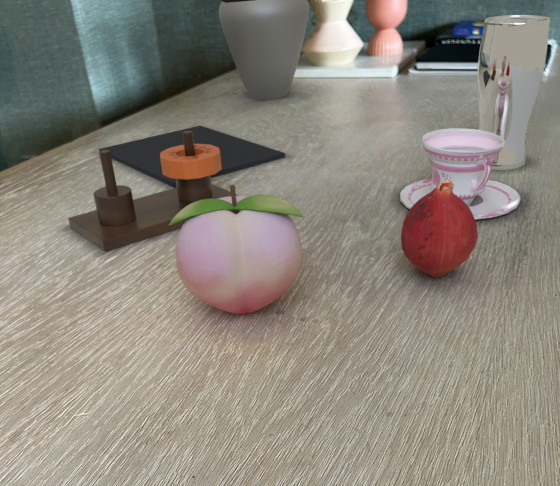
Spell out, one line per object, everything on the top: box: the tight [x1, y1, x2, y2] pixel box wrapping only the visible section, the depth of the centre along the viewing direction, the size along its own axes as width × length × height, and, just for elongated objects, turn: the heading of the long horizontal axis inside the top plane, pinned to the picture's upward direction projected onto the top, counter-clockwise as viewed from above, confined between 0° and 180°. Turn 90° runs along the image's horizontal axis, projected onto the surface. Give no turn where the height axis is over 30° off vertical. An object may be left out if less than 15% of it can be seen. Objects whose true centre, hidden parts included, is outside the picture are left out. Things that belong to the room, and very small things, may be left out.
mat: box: [98, 125, 286, 188], centre depth 87 cm, size 20×16×1 cm
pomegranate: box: [400, 180, 479, 279], centre depth 53 cm, size 6×6×8 cm
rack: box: [67, 131, 240, 253], centre depth 67 cm, size 8×16×8 cm, turn 128°
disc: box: [160, 144, 222, 180], centre depth 68 cm, size 6×6×2 cm
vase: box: [218, 0, 310, 101], centre depth 107 cm, size 14×14×25 cm
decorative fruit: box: [169, 184, 304, 315], centre depth 49 cm, size 9×8×10 cm
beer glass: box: [476, 14, 551, 171], centre depth 74 cm, size 7×7×15 cm
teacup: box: [399, 127, 522, 221], centre depth 67 cm, size 12×12×6 cm
